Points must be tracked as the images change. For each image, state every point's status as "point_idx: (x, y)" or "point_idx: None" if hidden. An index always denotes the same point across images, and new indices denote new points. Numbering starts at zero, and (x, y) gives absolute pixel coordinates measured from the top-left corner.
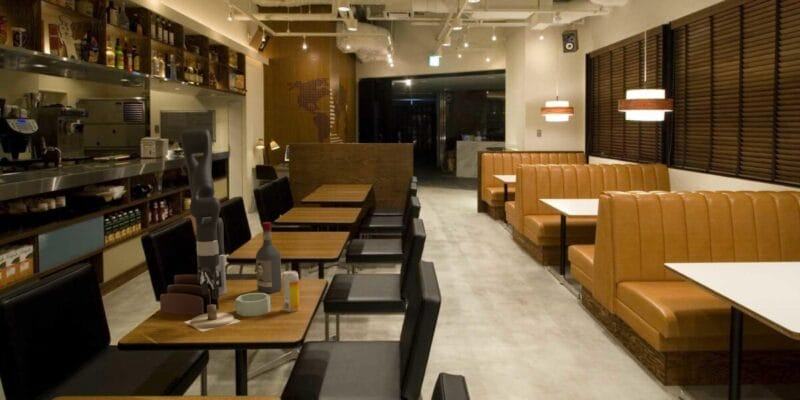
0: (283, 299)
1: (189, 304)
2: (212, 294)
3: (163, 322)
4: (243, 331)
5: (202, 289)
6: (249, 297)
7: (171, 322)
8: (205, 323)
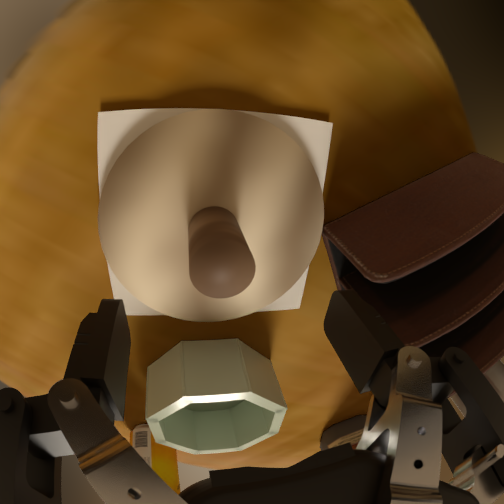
0: (159, 453)
1: (420, 219)
2: (108, 326)
3: (407, 84)
4: (17, 266)
5: (360, 319)
6: (266, 418)
7: (384, 100)
8: (166, 166)
